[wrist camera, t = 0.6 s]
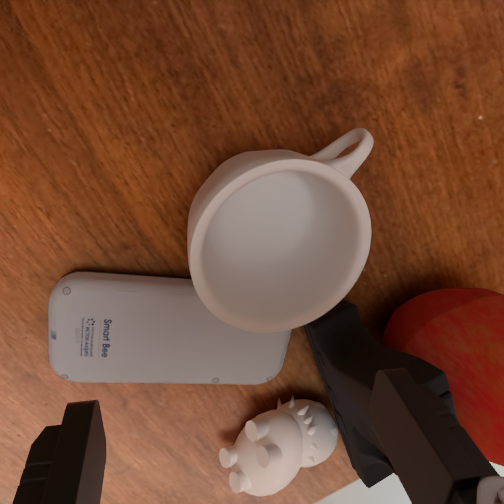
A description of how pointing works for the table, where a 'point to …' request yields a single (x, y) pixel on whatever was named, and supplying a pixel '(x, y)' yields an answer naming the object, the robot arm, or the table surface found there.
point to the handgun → (362, 382)
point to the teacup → (280, 235)
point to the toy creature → (279, 446)
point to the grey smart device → (151, 334)
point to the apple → (460, 354)
